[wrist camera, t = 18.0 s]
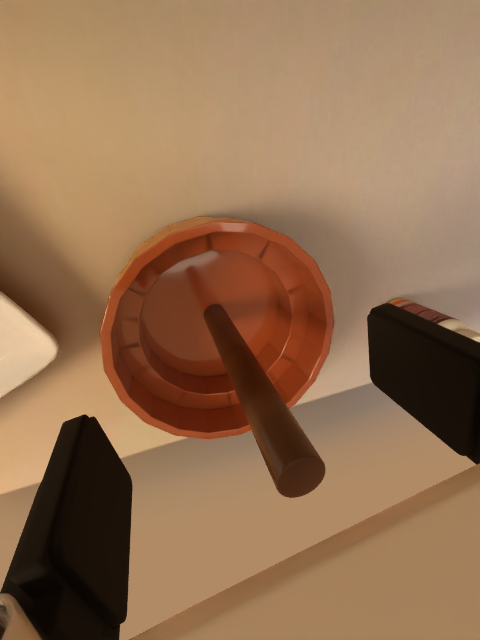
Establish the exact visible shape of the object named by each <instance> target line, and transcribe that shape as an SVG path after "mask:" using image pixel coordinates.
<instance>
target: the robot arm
mask: <svg viewBox="0 0 480 640" xmlns="http://www.w3.org/2000/svg"><path fill="white" fill-rule="evenodd" d="M367 324H368V344H369V363H370V377H371V380H372V382H373V383H374V385H375V386H377V387H378V388H379V389H380V390H381V391H382V392H384V393H385V394H386V395H387V396H389V397H390V398H391V399H392V400H393V401H395V402H396V403H397V404H398V405H400V406H401V407H402V408H403V409H404V410H406V411H407V412H408V413H409V414H411V415H412V416H413V417H414V418H416V420H418V421H419V422H420V423H421V424H423V425H424V426H425V427H426V428H427V429H429V430H430V431H431V432H432V433H434V434H435V435H436V436H437V437H438V438H440V439H441V440H442V441H443V442H444V443H445V444H447V445H448V446H449V447H450V448H452V449H453V450H454V451H455V452H456V453H458V454H459V455H462V456H467V457H468V458H469V459H471V460H472V461H473V462H474V463H476V464H477V465H476V466H473V467H471V468H469V469H467V470H465V471H463V472H461V473H459V474H457V475H455V476H453V477H451V478H449V479H447V480H445V481H443V482H440V483H439V484H436V485H434V486H432V487H430V488H428V489H426V490H424V491H422V492H420V493H418V494H416V495H414V496H412V497H410V498H408V499H406V500H404V501H402V502H400V503H398V504H396V505H394V506H392V507H390V508H388V509H386V510H384V511H382V512H380V513H378V514H376V515H374V516H372V517H370V518H368V519H366V520H364V521H362V522H360V523H358V524H355V525H354V526H351V527H350V528H348V529H345V530H343V531H342V532H339V533H337V534H335V535H333V536H332V537H330V538H327V539H325V540H323V541H322V542H319V543H317V544H315V545H313V546H311V547H309V548H307V549H305V550H303V551H301V552H299V553H297V554H295V555H293V556H291V557H289V558H287V559H285V560H283V561H281V562H279V563H278V564H275V565H274V566H272V567H270V568H268V569H266V570H264V571H262V572H260V573H258V574H256V575H254V576H252V577H250V578H248V579H246V580H244V581H242V582H240V583H238V584H236V585H234V586H232V587H230V588H228V589H226V590H224V591H222V592H220V593H218V594H216V595H214V596H212V597H210V598H208V599H206V600H204V601H202V602H200V603H198V604H196V605H194V606H192V607H190V608H188V609H187V610H185V611H183V612H181V613H179V614H177V615H175V616H173V617H171V618H169V619H168V620H166V621H164V622H162V623H160V624H158V625H156V626H154V627H153V628H150V629H148V630H147V631H145V632H143V633H141V634H139V635H137V636H135V637H133V638H131V639H129V640H480V342H477V341H475V340H473V339H471V338H468V337H466V336H464V335H461V334H459V333H457V332H455V331H452V330H450V329H448V328H446V327H443V326H441V325H439V324H436V323H434V322H432V321H430V320H427V319H425V318H423V317H420V316H418V315H416V314H414V313H411V312H409V311H407V310H405V309H402V308H400V307H398V306H395V305H393V304H391V303H386V304H383V305H380V306H377V307H375V308H372V309H371V311H370V314H369V315H368V317H367ZM131 506H132V481H131V477H130V475H129V473H128V471H127V470H126V468H125V466H124V464H123V463H122V461H121V459H120V458H119V456H118V454H117V453H116V451H115V449H114V448H113V446H112V444H111V443H110V441H109V439H108V438H107V436H106V434H105V433H104V431H103V429H102V428H101V426H100V424H99V422H98V421H97V419H96V418H95V417H90V418H89V417H88V416H87V415H82V416H79V417H76V418H73V419H71V420H68V421H65V422H64V423H63V425H62V427H61V430H60V433H59V435H58V438H57V441H56V444H55V447H54V449H53V452H52V455H51V458H50V460H49V463H48V466H47V469H46V472H45V474H44V477H43V480H42V482H41V484H40V486H39V488H38V491H37V493H36V496H35V499H34V502H33V504H32V507H31V510H30V512H29V516H28V518H27V521H26V523H25V526H24V529H23V532H22V535H21V537H20V540H19V543H18V546H17V548H16V551H15V554H14V557H13V560H12V562H11V565H10V567H9V570H8V573H7V576H6V578H5V581H4V584H3V587H2V589H1V592H0V640H119V632H120V624H121V623H123V622H124V621H125V619H126V616H127V601H128V577H129V554H130V529H131Z"/></svg>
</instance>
